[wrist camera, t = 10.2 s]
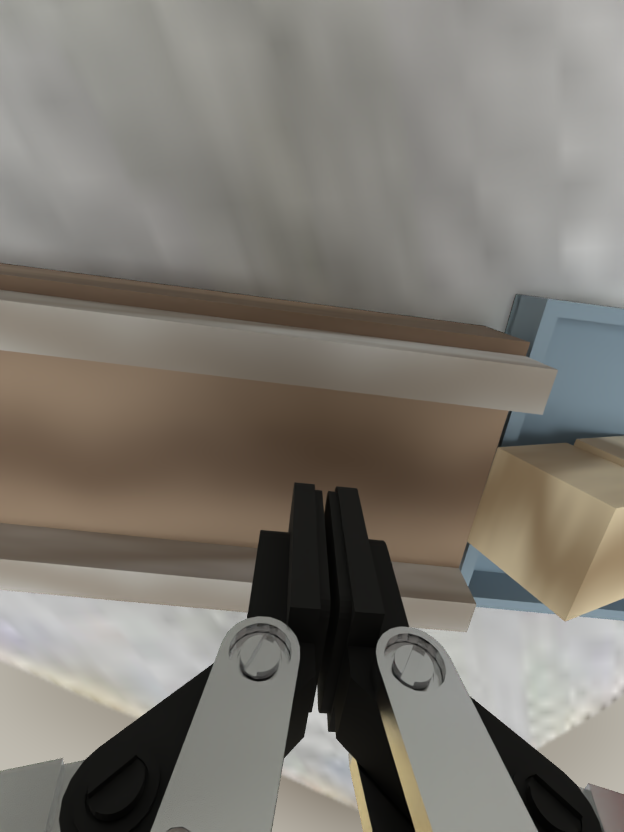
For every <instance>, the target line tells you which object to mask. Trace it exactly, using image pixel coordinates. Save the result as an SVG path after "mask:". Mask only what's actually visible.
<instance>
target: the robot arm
mask: <svg viewBox="0 0 624 832" xmlns="http://www.w3.org/2000/svg"><path fill="white" fill-rule="evenodd" d="M316 687H318V710H319V713H327V719H328V732H336V739H337V740H338V741H339V742H340V743H341V744H342V745H343V747H344V748H345V749H346V750H347V751H348V752H349V767H350V772H351V777H352V781H353V786H354V791H355V796H356V800H357V805H358V810H359V815H360V819H361V824H362V829H363V832H624V794H621V793H618V792H615V791H612V790H608V789H605V788H602V787H599V786H596V785H593V784H589V783H588V785H587V786H586V787H585V789H584V788H581V787H578V786H577V785H576V784H575V783H574V782H573V781H572V780H571V779H570V778H569V777H568V776H567V775H566V774H565V773H564V772H563V771H561V770H560V769H559V768H558V767H557V766H555V765H554V764H553V763H552V762H550V761H549V760H548V759H547V758H546V757H544V756H543V755H542V754H541V753H539V752H538V751H537V750H536V749H534V748H533V747H532V746H531V745H529V744H528V743H527V742H526V741H525V740H523V739H522V738H521V737H520V736H518V735H517V734H516V733H515V732H513V731H512V730H511V729H510V728H508V727H507V726H506V725H505V724H504V723H502V722H501V721H500V720H499V719H497V718H496V717H495V716H494V715H492V714H491V713H490V712H489V711H487V710H486V709H485V708H484V707H483V706H481V705H480V704H479V703H478V702H476V701H475V700H474V699H473V698H471V697H470V696H469V694H468V692H467V690H466V688H465V686H464V684H463V682H462V680H461V678H460V676H459V674H458V672H457V670H456V668H455V666H454V664H453V662H452V660H451V658H450V657H449V655H448V654H447V652H446V650H445V649H444V647H443V646H442V645H441V644H440V643H439V642H437V641H436V640H435V639H434V638H433V637H431V636H430V635H428V634H427V633H425V632H423V631H421V630H418V629H415V628H412V627H409V624H408V620H407V617H406V613H405V609H404V606H403V602H402V599H401V595H400V591H399V588H398V584H397V580H396V577H395V573H394V570H393V566H392V562H391V559H390V555H389V552H388V548H387V545H386V542H385V541H384V540H372V539H368V534H367V530H366V525H365V521H364V516H363V512H362V507H361V503H360V498H359V494H358V490H357V488H350V487H339V486H336V488H335V492H334V491H328V493H327V498H326V504H325V510H324V506H323V493H322V490H315V484H307V483H297V482H294V488H293V496H292V504H291V512H290V521H289V529H288V532H279V531H268V530H260V535H259V542H258V549H257V555H256V562H255V569H254V575H253V582H252V588H251V595H250V602H249V608H248V615H247V619H245V620H243V621H241V622H239V623H237V624H236V625H235V626H233V627H232V628H231V629H230V630H229V631H228V632H227V634H226V636H225V637H224V639H223V641H222V643H221V646H220V648H219V651H218V654H217V656H216V659H215V662H214V663H213V664H212V665H211V666H209V667H208V668H207V669H205V670H204V671H202V672H201V673H200V674H198V675H197V676H196V677H194V678H193V679H192V680H190V681H189V682H187V683H186V684H185V685H183V686H182V687H181V688H179V689H178V690H177V691H175V692H174V693H172V694H171V695H170V696H168V697H167V698H166V699H164V700H163V701H162V702H160V703H159V704H157V705H156V706H155V707H153V708H152V709H151V710H149V711H148V712H147V713H145V714H144V715H142V716H141V717H140V718H138V719H137V720H136V721H134V722H133V723H132V724H130V725H129V726H128V727H126V728H125V729H124V730H122V731H121V732H119V733H118V734H117V735H115V736H114V737H113V738H111V739H110V740H108V741H107V742H106V743H104V744H103V745H102V746H100V747H99V748H98V749H97V750H95V751H94V752H93V753H92V754H91V755H90V756H89V757H88V758H87V759H86V760H83V761H78V762H74V763H69V764H64V762H63V758H61V759H56V760H51V761H46V762H42V763H37V764H32V765H27V766H23V767H18V768H13V769H8V770H3V771H0V832H272V826H273V820H274V814H275V808H276V802H277V796H278V790H279V784H280V778H281V772H282V767H283V760H284V758H285V757H286V756H287V754H288V753H289V752H290V751H291V750H292V749H293V748H294V747H295V746H296V745H297V744H298V743H299V742H300V740H301V739H302V738H303V737H304V734H305V729H306V723H307V718H308V713H309V712H312V708H313V702H314V697H315V692H316Z"/></svg>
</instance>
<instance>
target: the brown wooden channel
mask: <svg viewBox="0 0 624 832" xmlns="http://www.w3.org/2000/svg"><path fill="white" fill-rule="evenodd" d="M529 345H530V342H528V341H525V340H522V339H519V338H517V337H514V336H511V335H508V334H505V333H503V332H500V331H497V330H494V329H491V328H489V327H486V326H480V325H473V324H465V323H457V322H450V321H442V320H434V319H427V318H419V317H411V316H403V315H396V314H388V313H380V312H373V311H365V310H357V309H350V308H342V307H334V306H326V305H319V304H311V303H303V302H296V301H288V300H280V299H272V298H265V297H257V296H249V295H242V294H234V293H226V292H219V291H211V290H203V289H195V288H188V287H180V286H172V285H165V284H157V283H149V282H142V281H134V280H126V279H118V278H111V277H103V276H95V275H88V274H80V273H72V272H65V271H57V270H49V269H41V268H34V267H26V266H18V265H11V264H3V263H0V590H6V591H17V592H28V593H39V594H50V595H61V596H72V597H83V598H94V599H105V600H116V601H127V602H138V603H149V604H160V605H171V606H182V607H193V608H204V609H215V610H226V611H237V612H248V608H249V602H250V595H251V588H252V582H253V575H254V569H255V562H256V555H257V549H258V542H259V535H260V530H268V531H279V532H288V529H289V521H290V512H291V504H292V496H293V488H294V482H297V483H307V484H315V490H322V493H323V506H324V510H325V504H326V498H327V493H328V491H334V492H335V488H336V486H339V487H350V488H357V490H358V494H359V498H360V503H361V507H362V512H363V516H364V521H365V525H366V530H367V534H368V539H372V540H384V541H385V542H386V545H387V548H388V552H389V555H390V559H391V562H392V566H393V570H394V573H395V577H396V580H397V584H398V588H399V591H400V595H401V599H402V602H403V606H404V609H405V613H406V617H407V620H408V624H409V627H414V628H425V629H436V630H447V631H458V632H467V630H468V627H469V624H470V621H471V618H472V615H473V613H474V610H475V607H476V602H475V600H474V598H473V596H472V594H471V592H470V590H469V588H468V586H467V584H466V582H465V580H464V578H463V575H462V573H461V571H460V569H459V566H460V563H461V560H462V557H463V554H464V550H465V547H466V544H467V540H468V537H469V534H470V531H471V528H472V525H473V522H474V519H475V516H476V512H477V509H478V506H479V503H480V500H481V497H482V493H483V490H484V487H485V484H486V481H487V478H488V474H489V471H490V468H491V465H492V462H493V459H494V456H495V452H496V449H497V446H498V443H499V440H500V437H501V433H502V430H503V427H504V424H505V421H506V418H507V414H508V411H515V412H523V413H531V414H540V415H543V412H544V409H545V406H546V403H547V400H548V398H549V395H550V392H551V389H552V386H553V383H554V380H555V378H556V375H557V372H558V370H557V369H555V368H552V367H550V366H548V365H545V364H543V363H541V362H538V361H536V360H534V359H531V358H529V357H527V356H526V354H527V351H528V348H529Z"/></svg>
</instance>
